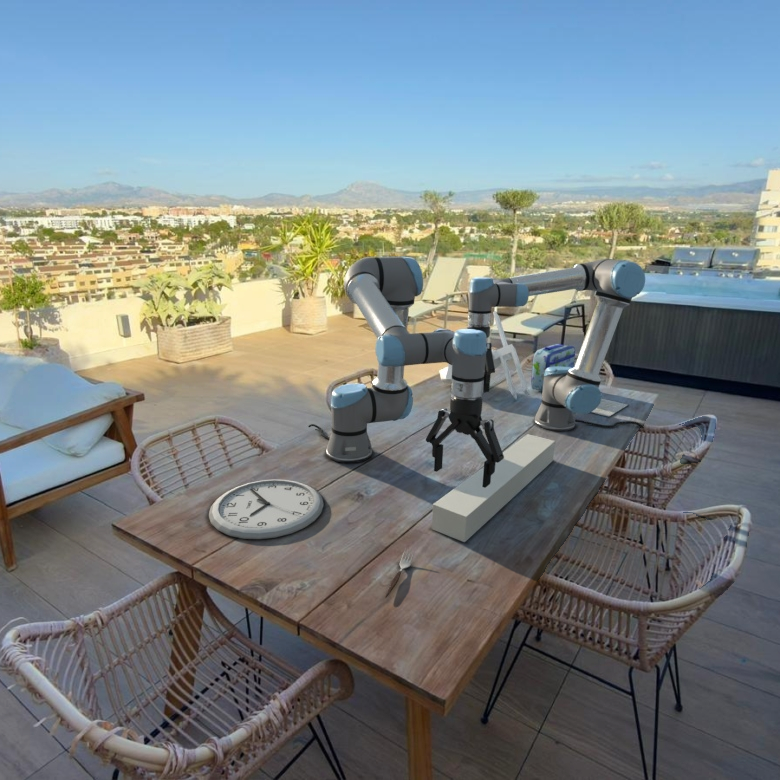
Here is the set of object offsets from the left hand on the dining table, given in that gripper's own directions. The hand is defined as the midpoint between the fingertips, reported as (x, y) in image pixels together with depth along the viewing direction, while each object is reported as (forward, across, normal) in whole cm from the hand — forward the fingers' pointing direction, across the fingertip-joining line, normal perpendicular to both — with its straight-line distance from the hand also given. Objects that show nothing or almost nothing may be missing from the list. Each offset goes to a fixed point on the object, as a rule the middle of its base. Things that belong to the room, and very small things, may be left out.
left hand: (461, 477), depth 129 cm
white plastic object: (+14, -49, +106) cm, 118 cm away
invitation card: (+14, +2, +122) cm, 123 cm away
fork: (+14, 0, -26) cm, 29 cm away
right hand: (-7, -24, +51) cm, 57 cm away
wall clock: (+14, -45, -24) cm, 53 cm away
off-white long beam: (+14, 0, +25) cm, 28 cm away
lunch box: (+14, -25, +134) cm, 137 cm away
